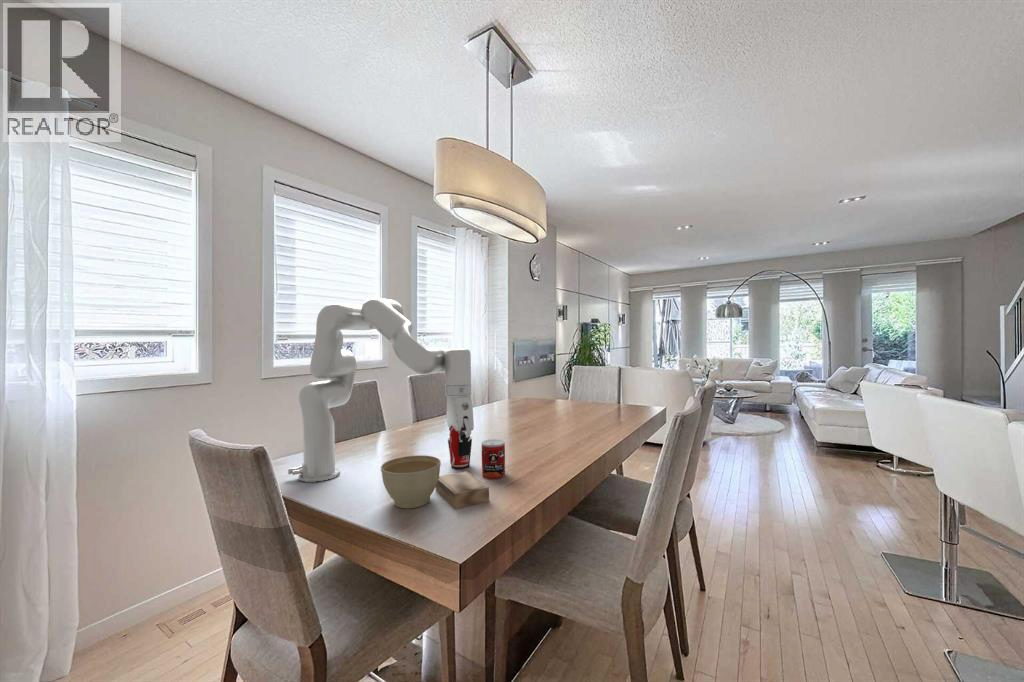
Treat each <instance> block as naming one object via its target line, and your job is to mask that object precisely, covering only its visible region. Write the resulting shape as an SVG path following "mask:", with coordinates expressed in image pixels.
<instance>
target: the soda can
mask: <svg viewBox="0 0 1024 682" xmlns="http://www.w3.org/2000/svg"><path fill="white" fill-rule="evenodd" d="M463 430H465V429H461V431H463ZM449 433H450V436H449V437H450V453H449V462H450V465H452V466H454V467H463V466H467V465H468V463H469V455H466V456H458V442H459V436H458V432H457V431H455V430H454V427H453V425H451V427H450V430H449ZM461 434H462V435H463V434H465V433H461Z"/></svg>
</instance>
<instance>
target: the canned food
mask: <svg viewBox="0 0 1024 682" xmlns="http://www.w3.org/2000/svg"><path fill="white" fill-rule="evenodd" d="M505 443H506V442H505V441H504V440H502V439H497V438H496V439H495V438H494V439H486V440H483V441H482V442H481V474H482V477H484V478H485V479H487V478H488V479H489V480H497V479H496V478H498V479H500V478H503V477H504V476H505V475H506V450H505V449H506V446H505V445H506V444H505Z"/></svg>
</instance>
